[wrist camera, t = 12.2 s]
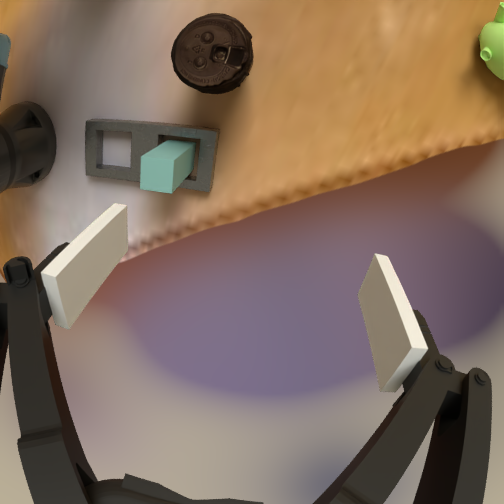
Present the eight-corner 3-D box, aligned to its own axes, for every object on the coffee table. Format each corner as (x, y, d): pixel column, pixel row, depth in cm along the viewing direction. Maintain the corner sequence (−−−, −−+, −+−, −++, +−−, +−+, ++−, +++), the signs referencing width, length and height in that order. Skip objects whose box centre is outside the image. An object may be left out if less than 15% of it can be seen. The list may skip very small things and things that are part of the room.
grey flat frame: (92, 171, 45) (85, 175, 43) (92, 118, 40) (85, 121, 39) (212, 187, 45) (209, 192, 43) (219, 129, 41) (216, 131, 39)
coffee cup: (275, 68, 36) (274, 62, 25) (224, 103, 39) (200, 112, 28) (236, 19, 33) (218, -5, 21) (186, 55, 35) (148, 48, 24)
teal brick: (167, 165, 44) (140, 189, 35) (169, 139, 42) (141, 156, 33) (193, 169, 44) (171, 193, 35) (196, 142, 42) (174, 160, 33)
